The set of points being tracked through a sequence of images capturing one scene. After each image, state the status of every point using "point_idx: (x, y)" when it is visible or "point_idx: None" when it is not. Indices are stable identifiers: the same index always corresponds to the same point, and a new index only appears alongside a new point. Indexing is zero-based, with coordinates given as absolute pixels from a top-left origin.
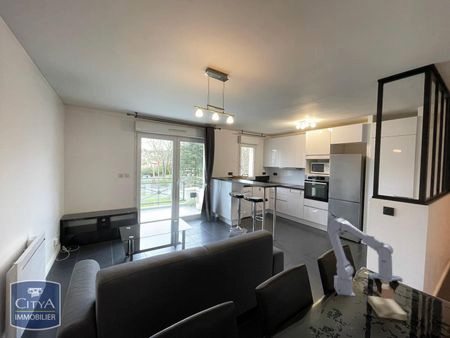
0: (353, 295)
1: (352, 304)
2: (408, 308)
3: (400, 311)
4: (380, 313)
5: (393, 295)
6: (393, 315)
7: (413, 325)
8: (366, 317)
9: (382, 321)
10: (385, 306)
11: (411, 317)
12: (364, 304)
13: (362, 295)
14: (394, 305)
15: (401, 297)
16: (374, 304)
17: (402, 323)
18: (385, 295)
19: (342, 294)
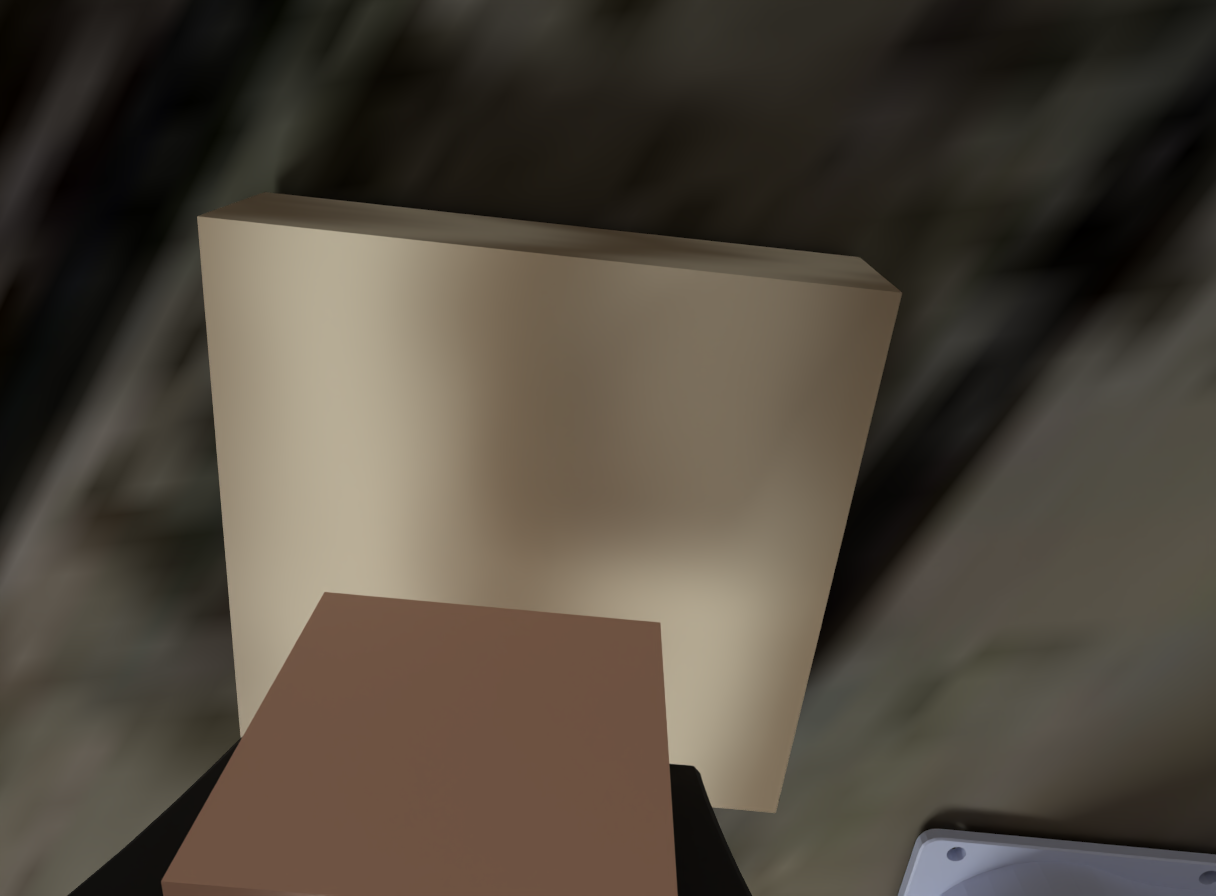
0: (963, 840)
1: (1173, 599)
2: (29, 594)
3: (313, 323)
4: (848, 271)
5: (280, 684)
6: (546, 238)
7: (205, 49)
8: (1187, 203)
9: (884, 102)
10: (595, 482)
11: (108, 327)
12: (896, 623)
13: (744, 861)
14: (333, 543)
15: (10, 866)
16: (838, 530)
17: (430, 90)
18: (567, 684)
19: (1172, 852)
